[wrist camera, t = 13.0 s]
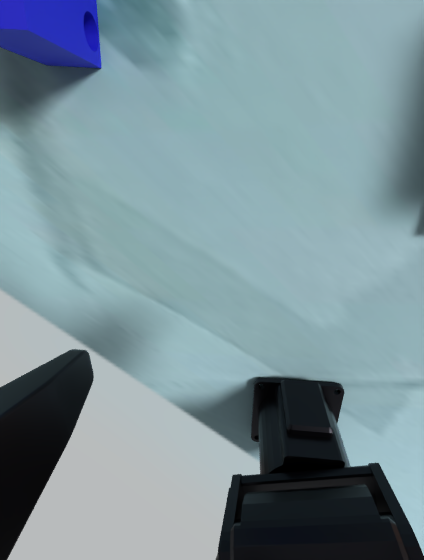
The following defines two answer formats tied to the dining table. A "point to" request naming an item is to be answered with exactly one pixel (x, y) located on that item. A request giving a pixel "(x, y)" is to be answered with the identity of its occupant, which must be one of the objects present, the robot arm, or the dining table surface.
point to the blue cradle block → (52, 31)
